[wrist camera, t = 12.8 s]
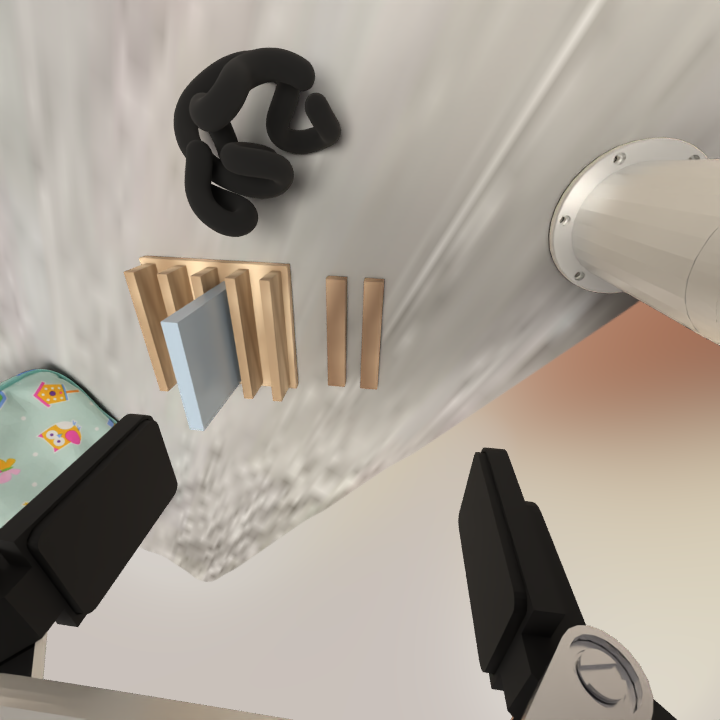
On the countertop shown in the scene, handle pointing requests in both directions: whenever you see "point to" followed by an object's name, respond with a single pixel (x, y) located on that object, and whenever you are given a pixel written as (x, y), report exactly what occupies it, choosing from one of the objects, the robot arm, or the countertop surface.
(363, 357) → the wooden slats
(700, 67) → the countertop surface
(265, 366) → the dish rack
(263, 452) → the countertop surface
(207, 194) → the squiggle
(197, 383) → the plate
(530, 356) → the countertop surface
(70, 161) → the countertop surface
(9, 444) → the lunch box
